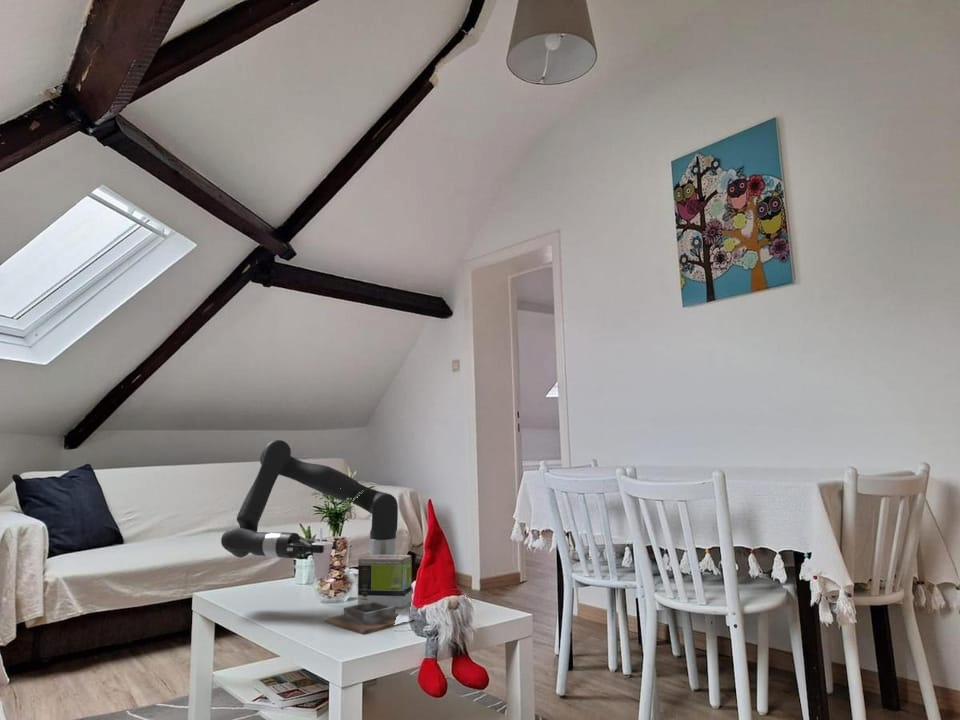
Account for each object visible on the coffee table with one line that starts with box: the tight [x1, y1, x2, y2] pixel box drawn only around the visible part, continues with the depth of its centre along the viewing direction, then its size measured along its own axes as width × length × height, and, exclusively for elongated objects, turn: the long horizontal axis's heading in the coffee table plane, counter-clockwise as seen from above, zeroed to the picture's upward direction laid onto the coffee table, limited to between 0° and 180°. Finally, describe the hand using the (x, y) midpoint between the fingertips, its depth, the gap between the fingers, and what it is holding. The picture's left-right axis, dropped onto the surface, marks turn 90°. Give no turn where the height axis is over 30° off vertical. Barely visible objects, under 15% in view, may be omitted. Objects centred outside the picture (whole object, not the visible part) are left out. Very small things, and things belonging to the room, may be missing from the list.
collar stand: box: [324, 601, 400, 635], centre depth 176 cm, size 18×18×4 cm
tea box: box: [357, 554, 413, 609], centre depth 197 cm, size 15×10×15 cm, turn 79°
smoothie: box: [312, 527, 334, 579], centre depth 185 cm, size 6×6×14 cm
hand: (329, 547), depth 185 cm, fingers closed on smoothie, 6 cm apart
